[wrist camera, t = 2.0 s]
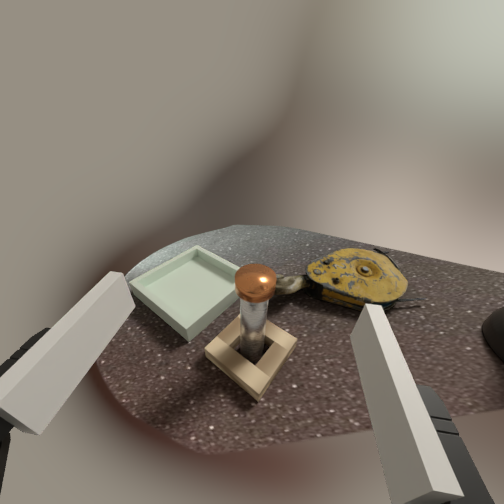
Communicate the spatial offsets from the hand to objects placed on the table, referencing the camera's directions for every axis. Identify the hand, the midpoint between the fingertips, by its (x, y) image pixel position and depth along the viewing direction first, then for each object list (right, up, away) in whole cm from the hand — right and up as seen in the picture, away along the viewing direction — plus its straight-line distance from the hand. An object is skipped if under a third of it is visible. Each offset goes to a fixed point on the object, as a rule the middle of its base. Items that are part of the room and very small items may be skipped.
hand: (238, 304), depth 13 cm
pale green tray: (-10, -4, +29) cm, 31 cm away
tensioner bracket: (+1, -11, +19) cm, 22 cm away
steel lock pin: (+1, -11, +19) cm, 22 cm away
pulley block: (+16, -4, +31) cm, 35 cm away
